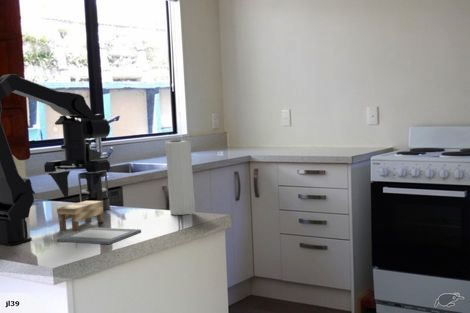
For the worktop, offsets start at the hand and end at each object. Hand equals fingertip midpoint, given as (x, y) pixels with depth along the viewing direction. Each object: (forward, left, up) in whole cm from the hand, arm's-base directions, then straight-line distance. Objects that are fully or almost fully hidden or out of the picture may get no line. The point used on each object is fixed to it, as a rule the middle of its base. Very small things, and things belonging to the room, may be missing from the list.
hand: (79, 197), depth 162 cm
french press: (+22, +13, -8) cm, 27 cm away
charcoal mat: (-10, -14, -8) cm, 19 cm away
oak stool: (0, 0, -8) cm, 8 cm away
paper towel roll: (+20, -20, -8) cm, 30 cm away
